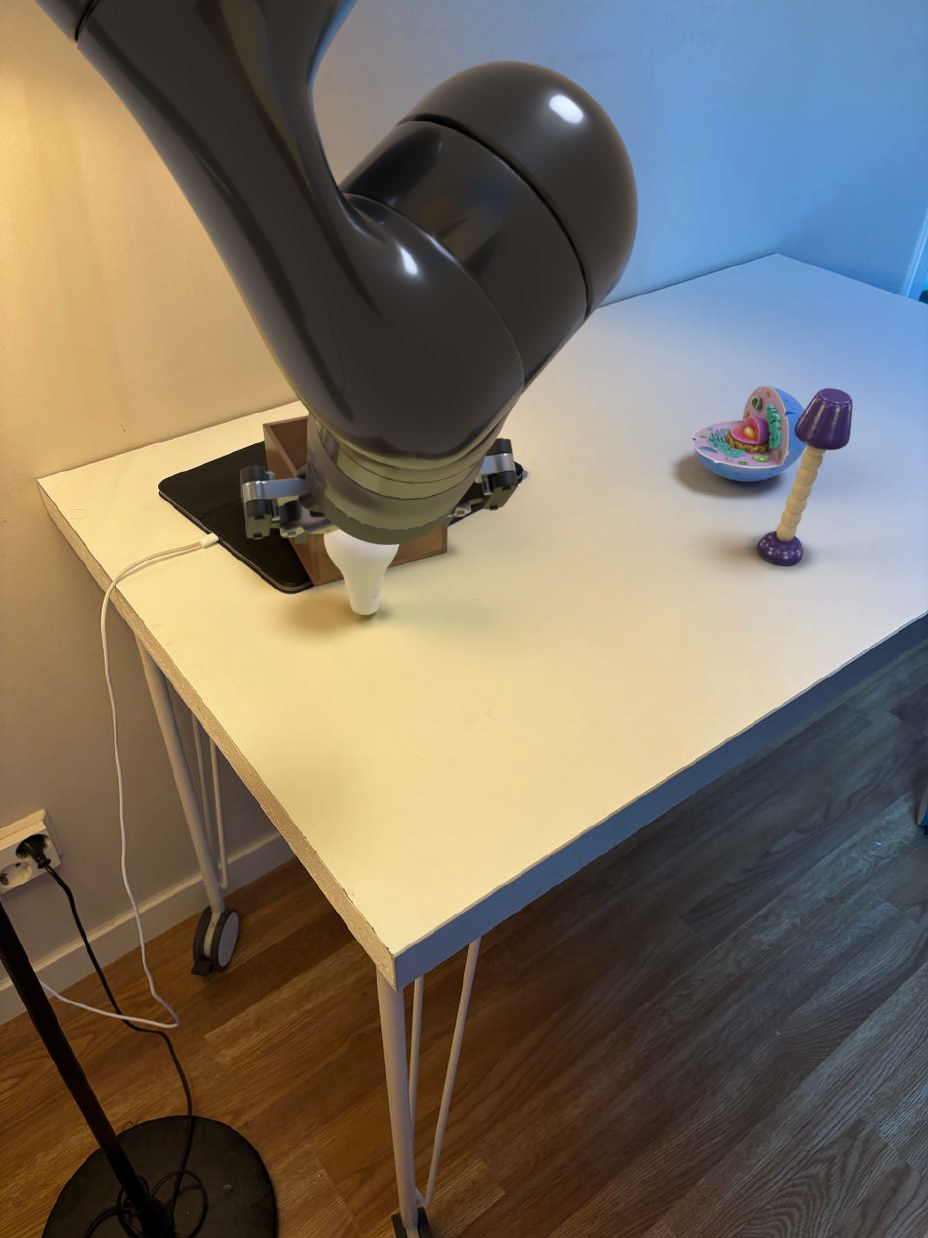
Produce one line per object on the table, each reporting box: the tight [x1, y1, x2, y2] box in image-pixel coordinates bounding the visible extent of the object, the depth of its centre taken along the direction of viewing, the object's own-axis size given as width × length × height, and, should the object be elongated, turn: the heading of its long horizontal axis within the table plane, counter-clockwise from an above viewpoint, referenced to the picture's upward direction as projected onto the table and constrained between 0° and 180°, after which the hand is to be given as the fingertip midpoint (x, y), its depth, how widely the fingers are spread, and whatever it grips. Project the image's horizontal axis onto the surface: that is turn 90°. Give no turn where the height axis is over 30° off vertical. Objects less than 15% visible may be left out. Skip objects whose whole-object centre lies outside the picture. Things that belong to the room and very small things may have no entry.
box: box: [262, 415, 449, 586], centre depth 88 cm, size 13×13×10 cm
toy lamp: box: [756, 387, 853, 566], centre depth 85 cm, size 5×5×17 cm
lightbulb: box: [324, 529, 399, 616], centre depth 79 cm, size 6×6×11 cm
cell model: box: [691, 385, 806, 483], centre depth 98 cm, size 10×12×10 cm
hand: (368, 517), depth 57 cm, fingers open, 8 cm apart
